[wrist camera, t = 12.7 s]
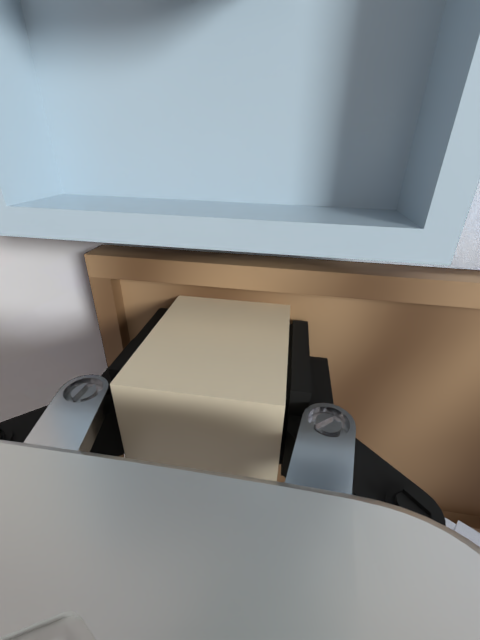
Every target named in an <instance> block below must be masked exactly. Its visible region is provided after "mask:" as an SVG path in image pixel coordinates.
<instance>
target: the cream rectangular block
mask: <svg viewBox="0 0 480 640" xmlns="http://www.w3.org/2000/svg"><path fill="white" fill-rule="evenodd" d="M289 324H290V305H283V304H272V303H260V302H249V301H237V300H225V299H214V298H202V297H191V296H178V297H177V299H176V300H175V301H174V302H173V304H172V305H171V306H170V308H169V309H168V310H167V311H166V313H165V314H164V315H163V317H162V318H161V319H160V320H159V322H158V323H157V324H156V326H155V327H154V328H153V329H152V331H151V332H150V333H149V334H148V336H147V337H146V338H145V340H144V341H143V342H142V343H141V345H140V346H139V347H138V349H137V350H136V351H135V352H134V354H133V355H132V356H131V358H130V359H129V360H128V361H127V363H126V364H125V365H124V366H123V368H122V369H121V370H120V372H119V373H118V374H117V375H116V377H115V378H114V379H113V381H112V382H111V383H110V388H111V392H112V397H113V401H114V406H115V411H116V415H117V420H118V425H119V429H120V434H121V439H122V443H123V448H124V452H125V457H126V458H130V459H137V460H143V461H150V462H157V463H163V464H169V465H176V466H182V467H189V468H195V469H202V470H208V471H214V472H221V473H227V474H233V475H239V476H246V477H252V478H258V479H264V480H271V481H277V474H278V465H279V457H280V448H281V440H282V431H283V422H284V414H285V404H286V384H287V364H288V344H289Z"/></svg>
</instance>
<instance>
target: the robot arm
mask: <svg viewBox="0 0 480 640" xmlns="http://www.w3.org/2000/svg"><path fill="white" fill-rule="evenodd" d="M167 310H168V308H159V309H158V310H157V312H156V313H155V314H154V315H153V316H152V318H151V319H150V320H149V321H148V322H147V324H146V325H145V326H144V327H143V328H142V330H141V331H140V332H139V333H138V334H137V336H136V337H135V338H133V339H132V340H131V341H130V342H129V344H128V345H127V346H126V347H125V348H124V349H123V351H122V352H121V353H120V354H119V355H118V357H117V358H116V359H115V360H114V361H113V362H112V364H111V365H110V366H109V367H108V368H107V370H106V371H105V372H104V373H103V374H102V376H99V375H84V376H80V377H77V378H74V379H72V380H70V381H68V382H67V383H65V384H64V385H63V386H62V387H61V388H60V389H59V391H58V392H57V394H56V395H55V396H54V398H53V399H52V401H51V402H50V404H49V405H48V406H45V407H42V408H39V409H37V410H34V411H31V412H28V413H26V414H23V415H20V416H17V417H14V418H12V419H9V420H6V421H3V422H1V423H0V640H480V533H479V532H477V531H475V530H474V529H472V528H471V527H469V526H467V525H466V524H464V523H462V522H461V521H459V520H458V521H457V523H456V524H455V523H453V522H452V521H450V520H448V519H447V518H445V517H444V515H443V512H442V510H441V508H440V507H439V506H438V504H437V503H436V501H435V500H434V499H433V498H432V497H431V496H429V495H428V494H427V493H426V492H425V491H424V490H422V489H421V488H420V487H419V486H417V485H416V484H415V483H413V482H412V481H411V480H410V479H408V478H407V477H406V476H404V475H403V474H402V473H401V472H399V471H398V470H397V469H395V468H394V467H393V466H392V465H390V464H389V463H388V462H386V461H385V460H384V459H382V458H381V457H380V456H379V455H377V454H376V453H375V452H373V451H372V450H371V449H370V448H368V447H367V446H366V445H364V444H363V443H362V442H361V441H359V440H358V439H357V438H355V437H356V425H355V421H354V419H353V418H352V416H351V415H350V414H349V413H348V412H347V411H346V410H344V409H342V408H341V407H339V406H336V405H334V403H333V395H332V388H331V380H330V373H329V366H328V359H327V358H323V357H313V356H310V350H309V331H308V321H299V320H293V324H289V344H288V364H287V384H286V404H285V414H284V422H283V431H282V440H281V448H280V457H279V464H281V476H284V477H285V478H286V480H285V483H283V482H277V481H271V480H264V479H258V478H252V477H246V476H239V475H233V474H227V473H221V472H214V471H208V470H202V469H195V468H189V467H182V466H176V465H169V464H163V463H157V462H150V461H143V460H137V459H130V458H124V454H125V452H124V448H123V443H122V439H121V434H120V429H119V425H118V420H117V415H116V411H115V406H114V401H113V397H112V392H111V388H110V383H111V382H112V381H113V379H114V378H115V377H116V375H117V374H118V373H119V372H120V370H121V369H122V368H123V366H124V365H125V364H126V363H127V361H128V360H129V359H130V358H131V356H132V355H133V354H134V352H135V351H136V350H137V349H138V347H139V346H140V345H141V343H142V342H143V341H144V340H145V338H146V337H147V336H148V334H149V333H150V332H151V331H152V329H153V328H154V327H155V326H156V324H157V323H158V322H159V320H160V319H161V318H162V317H163V315H164V314H165V313H166V311H167Z"/></svg>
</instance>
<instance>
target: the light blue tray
mask: <svg viewBox="0 0 480 640" xmlns="http://www.w3.org/2000/svg"><path fill="white" fill-rule="evenodd" d="M479 181H480V0H0V236H15V237H30V238H44V239H59V240H74V241H89V242H104V243H119V244H133V245H148V246H163V247H178V248H193V249H208V250H222V251H237V252H252V253H267V254H282V255H297V256H311V257H326V258H341V259H356V260H371V261H385V262H400V263H415V264H430V265H445V266H450V265H451V262H452V259H453V256H454V253H455V250H456V248H457V245H458V242H459V239H460V236H461V233H462V230H463V227H464V224H465V221H466V218H467V215H468V213H469V210H470V207H471V204H472V201H473V198H474V195H475V192H476V189H477V186H478V183H479Z"/></svg>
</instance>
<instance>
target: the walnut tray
mask: <svg viewBox="0 0 480 640" xmlns="http://www.w3.org/2000/svg"><path fill="white" fill-rule="evenodd" d="M84 257H85V262H86V267H87V271H88V276H89V281H90V285H91V290H92V295H93V300H94V304H95V309H96V314H97V318H98V323H99V328H100V333H101V337H102V342H103V347H104V351H105V356H106V361H107V366H108V367H109V366H110V365H111V364H112V362H113V361H114V360H115V359H116V358H117V357H118V355H119V354H120V353H121V352H122V351H123V349H124V348H125V347H126V346H127V345H128V344H129V342H130V341H131V340H132V339H133V338H135V337H136V336H137V334H138V333H139V332H140V331H141V330H142V328H143V327H144V326H145V325H146V324H147V322H148V321H149V320H150V319H151V318H152V316H153V315H154V314H155V313H156V312H157V310H158V309H159V308H168V309H169V308H170V306H171V305H172V304H173V302H174V301H175V300H176V299H177V297H178V296H191V297H202V298H214V299H225V300H237V301H249V302H260V303H272V304H283V305H290V324H293V320H299V321H308V331H309V350H310V356H313V357H323V358H327V359H328V366H329V373H330V380H331V388H332V395H333V403H334V405H336V406H339V407H341V408H342V409H344V410H346V411H347V412H348V413H349V414H350V415H351V416H352V418H353V419H354V421H355V425H356V437H355V438H357V439H358V440H359V441H361V442H362V443H363V444H364V445H366V446H367V447H368V448H370V449H371V450H372V451H373V452H375V453H376V454H377V455H379V456H380V457H381V458H382V459H384V460H385V461H386V462H388V463H389V464H390V465H392V466H393V467H394V468H395V469H397V470H398V471H399V472H401V473H402V474H403V475H404V476H406V477H407V478H408V479H410V480H411V481H412V482H413V483H415V484H416V485H417V486H419V487H420V488H421V489H422V490H424V491H425V492H426V493H427V494H428V495H429V496H431V497H432V498H433V499H434V500H435V501H436V503H437V504H438V506H439V507H440V508H441V510H442V512H443V515H444V517H445V518H447V519H448V520H450V521H452V522H453V523H455V524H456V523H457V521H458V520H459V521H461V522H462V523H464V524H466V525H467V526H469V527H471V528H472V529H474V530H475V531H477V532H479V533H480V270H467V269H453V268H438V267H423V266H409V265H394V264H380V263H365V262H350V261H336V260H321V259H306V258H292V257H277V256H262V255H248V254H233V253H219V252H204V251H189V250H175V249H160V248H145V247H131V246H116V245H101V246H99V247H97V248H95V249H93V250H91V251H89V252H87V253H85V254H84ZM285 480H286V478H285V477H284V476H281V464H279V465H278V474H277V482H283V483H285Z"/></svg>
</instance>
